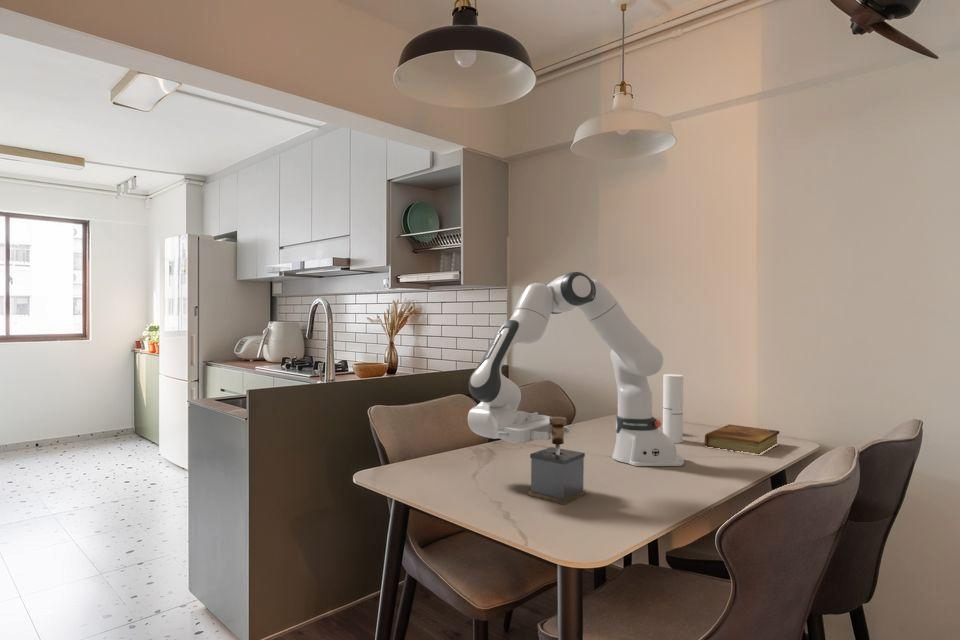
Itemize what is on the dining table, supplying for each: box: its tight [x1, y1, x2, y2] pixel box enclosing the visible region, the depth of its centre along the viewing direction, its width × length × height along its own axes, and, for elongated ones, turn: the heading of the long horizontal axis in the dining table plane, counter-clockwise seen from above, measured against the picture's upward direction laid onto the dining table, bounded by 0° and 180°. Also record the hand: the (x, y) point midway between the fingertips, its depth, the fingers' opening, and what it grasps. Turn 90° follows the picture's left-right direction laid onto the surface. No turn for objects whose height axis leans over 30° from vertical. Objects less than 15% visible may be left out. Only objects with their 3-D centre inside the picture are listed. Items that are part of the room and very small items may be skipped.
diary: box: [704, 423, 780, 454], centre depth 208 cm, size 23×19×6 cm
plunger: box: [550, 416, 567, 455], centre depth 151 cm, size 8×8×19 cm
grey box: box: [528, 446, 587, 505], centre depth 151 cm, size 11×11×11 cm
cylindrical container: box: [662, 373, 684, 444], centre depth 215 cm, size 7×7×25 cm
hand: (558, 433), depth 151 cm, fingers open, 8 cm apart
